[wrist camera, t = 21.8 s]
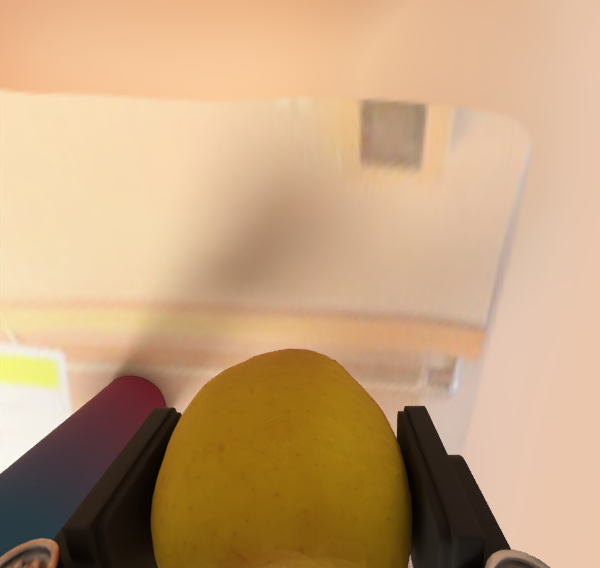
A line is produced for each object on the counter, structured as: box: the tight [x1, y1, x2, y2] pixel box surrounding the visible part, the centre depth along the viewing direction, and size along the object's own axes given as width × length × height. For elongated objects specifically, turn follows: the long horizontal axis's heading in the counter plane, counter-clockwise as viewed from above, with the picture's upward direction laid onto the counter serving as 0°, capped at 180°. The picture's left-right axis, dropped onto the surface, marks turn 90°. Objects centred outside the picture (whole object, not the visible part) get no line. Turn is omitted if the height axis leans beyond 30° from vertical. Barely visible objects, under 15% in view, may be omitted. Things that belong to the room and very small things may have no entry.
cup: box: [0, 376, 165, 557], centre depth 21 cm, size 7×7×15 cm
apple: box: [151, 349, 412, 568], centre depth 9 cm, size 6×6×8 cm
